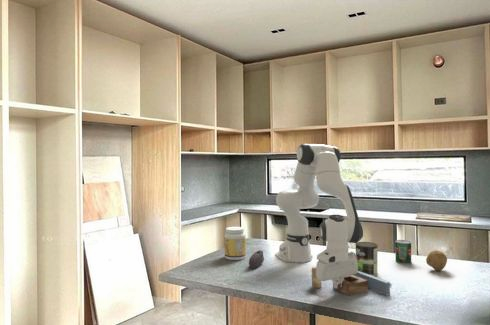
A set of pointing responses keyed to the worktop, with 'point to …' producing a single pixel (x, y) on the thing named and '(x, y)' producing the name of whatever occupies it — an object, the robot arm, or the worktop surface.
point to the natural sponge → (436, 260)
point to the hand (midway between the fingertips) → (337, 287)
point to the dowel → (315, 279)
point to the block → (353, 285)
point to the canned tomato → (403, 251)
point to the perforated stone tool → (256, 259)
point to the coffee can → (367, 257)
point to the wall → (375, 283)
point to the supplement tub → (235, 243)
